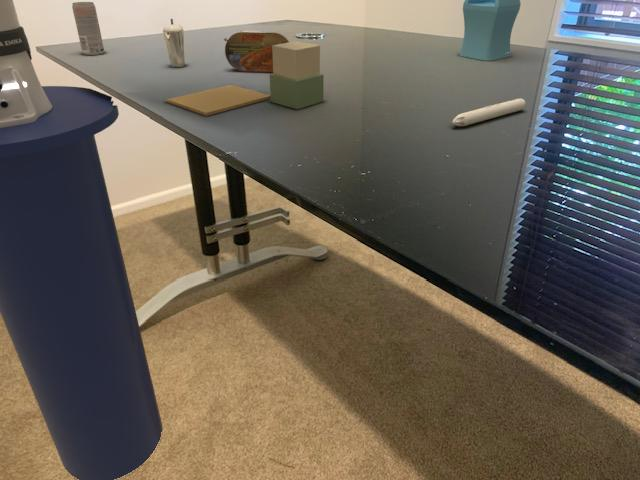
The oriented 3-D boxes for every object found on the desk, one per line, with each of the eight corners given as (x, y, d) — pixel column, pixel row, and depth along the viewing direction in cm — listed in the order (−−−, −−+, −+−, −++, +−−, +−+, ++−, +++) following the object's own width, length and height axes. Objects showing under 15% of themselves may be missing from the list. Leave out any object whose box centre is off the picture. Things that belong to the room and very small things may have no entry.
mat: (206, 116, 86) (206, 112, 86) (167, 102, 93) (166, 99, 93) (271, 98, 96) (270, 95, 96) (231, 87, 103) (230, 84, 102)
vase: (456, 55, 132) (471, -56, 119) (478, 50, 138) (495, -56, 125) (488, 61, 126) (508, -55, 113) (510, 56, 131) (531, -55, 118)
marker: (456, 130, 81) (458, 116, 79) (446, 127, 82) (448, 113, 81) (524, 111, 90) (527, 98, 88) (514, 108, 91) (517, 95, 90)
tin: (226, 71, 115) (222, 31, 111) (230, 68, 118) (227, 29, 114) (290, 73, 113) (289, 33, 109) (293, 70, 116) (292, 31, 112)
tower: (297, 109, 90) (296, 50, 85) (270, 101, 94) (268, 45, 89) (323, 101, 94) (324, 45, 89) (297, 94, 98) (296, 40, 93)
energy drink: (100, 50, 135) (90, 1, 129) (107, 53, 131) (97, 3, 125) (80, 52, 132) (68, 2, 126) (86, 56, 128) (74, 4, 122)
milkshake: (187, 62, 122) (181, 18, 117) (188, 67, 118) (182, 21, 113) (167, 63, 121) (161, 18, 116) (168, 68, 117) (161, 22, 112)
